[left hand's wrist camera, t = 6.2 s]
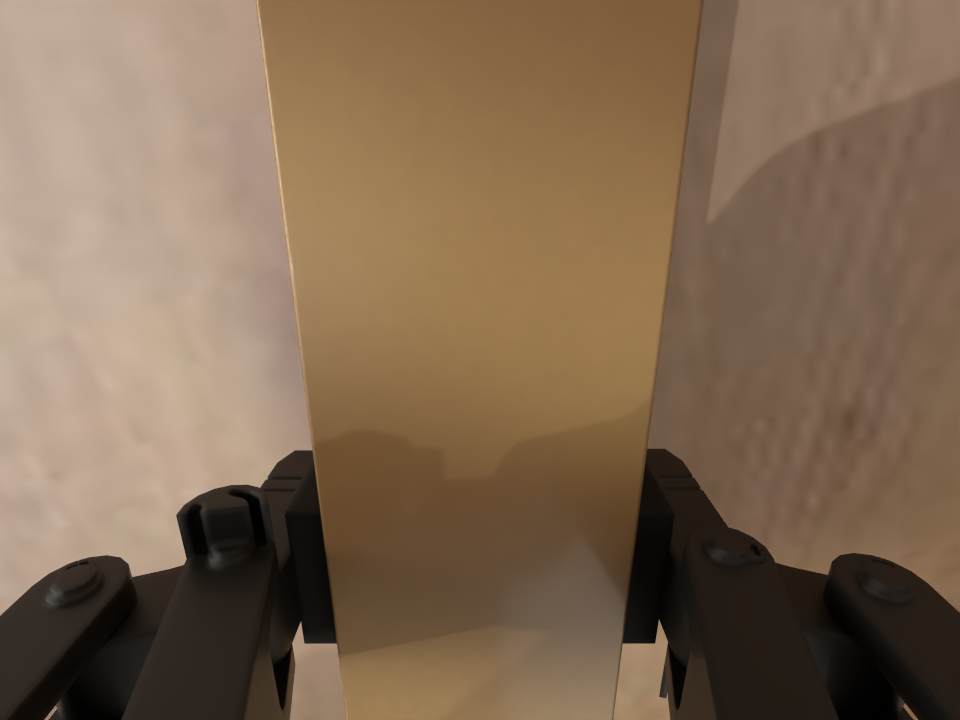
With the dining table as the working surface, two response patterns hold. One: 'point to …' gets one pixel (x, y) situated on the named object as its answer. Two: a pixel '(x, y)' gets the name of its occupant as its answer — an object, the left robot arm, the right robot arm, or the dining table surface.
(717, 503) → the dining table surface
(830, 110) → the dining table surface
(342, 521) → the bar
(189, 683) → the left robot arm
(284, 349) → the dining table surface
